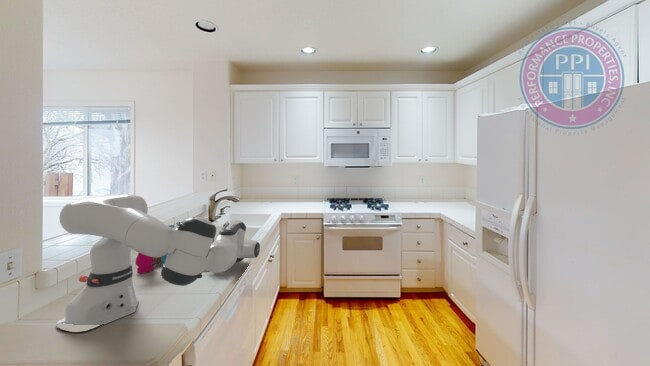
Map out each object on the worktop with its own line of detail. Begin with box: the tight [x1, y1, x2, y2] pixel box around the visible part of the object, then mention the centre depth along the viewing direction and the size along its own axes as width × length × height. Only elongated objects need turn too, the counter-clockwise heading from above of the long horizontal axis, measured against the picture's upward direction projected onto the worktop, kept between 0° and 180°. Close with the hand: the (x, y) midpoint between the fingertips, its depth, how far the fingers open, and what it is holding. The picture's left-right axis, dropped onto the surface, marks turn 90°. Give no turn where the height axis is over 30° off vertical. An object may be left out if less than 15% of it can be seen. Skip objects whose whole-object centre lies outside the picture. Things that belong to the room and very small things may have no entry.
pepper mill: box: [135, 252, 154, 274], centre depth 142 cm, size 7×7×20 cm
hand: (206, 244), depth 153 cm, fingers open, 5 cm apart
